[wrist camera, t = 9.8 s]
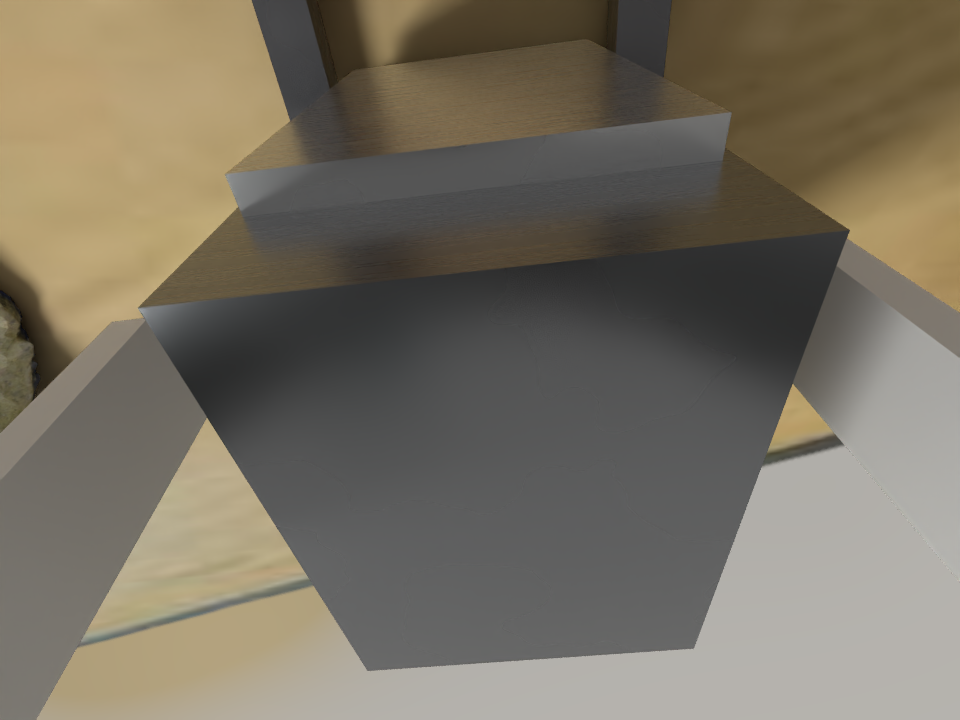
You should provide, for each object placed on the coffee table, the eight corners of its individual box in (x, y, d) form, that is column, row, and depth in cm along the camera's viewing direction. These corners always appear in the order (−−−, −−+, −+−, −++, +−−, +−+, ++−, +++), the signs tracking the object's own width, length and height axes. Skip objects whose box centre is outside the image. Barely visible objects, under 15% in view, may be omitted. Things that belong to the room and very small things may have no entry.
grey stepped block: (414, 340, 18) (368, 671, 9) (350, 67, 12) (104, 255, 4) (583, 322, 17) (693, 648, 9) (590, 35, 12) (873, 166, 4)
